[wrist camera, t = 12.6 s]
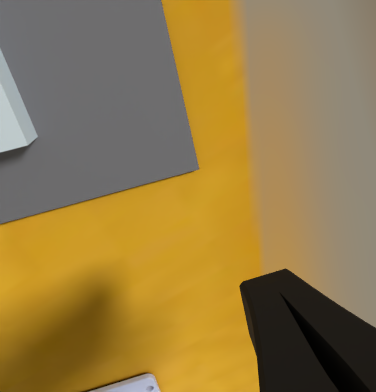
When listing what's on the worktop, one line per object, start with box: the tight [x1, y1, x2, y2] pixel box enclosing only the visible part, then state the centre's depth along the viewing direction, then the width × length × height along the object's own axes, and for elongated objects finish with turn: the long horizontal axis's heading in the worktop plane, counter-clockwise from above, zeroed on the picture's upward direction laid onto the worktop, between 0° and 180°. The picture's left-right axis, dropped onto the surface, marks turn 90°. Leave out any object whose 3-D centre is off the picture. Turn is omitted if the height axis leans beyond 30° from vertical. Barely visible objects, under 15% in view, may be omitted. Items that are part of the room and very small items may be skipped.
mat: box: [0, 0, 199, 224], centre depth 14 cm, size 14×12×1 cm
